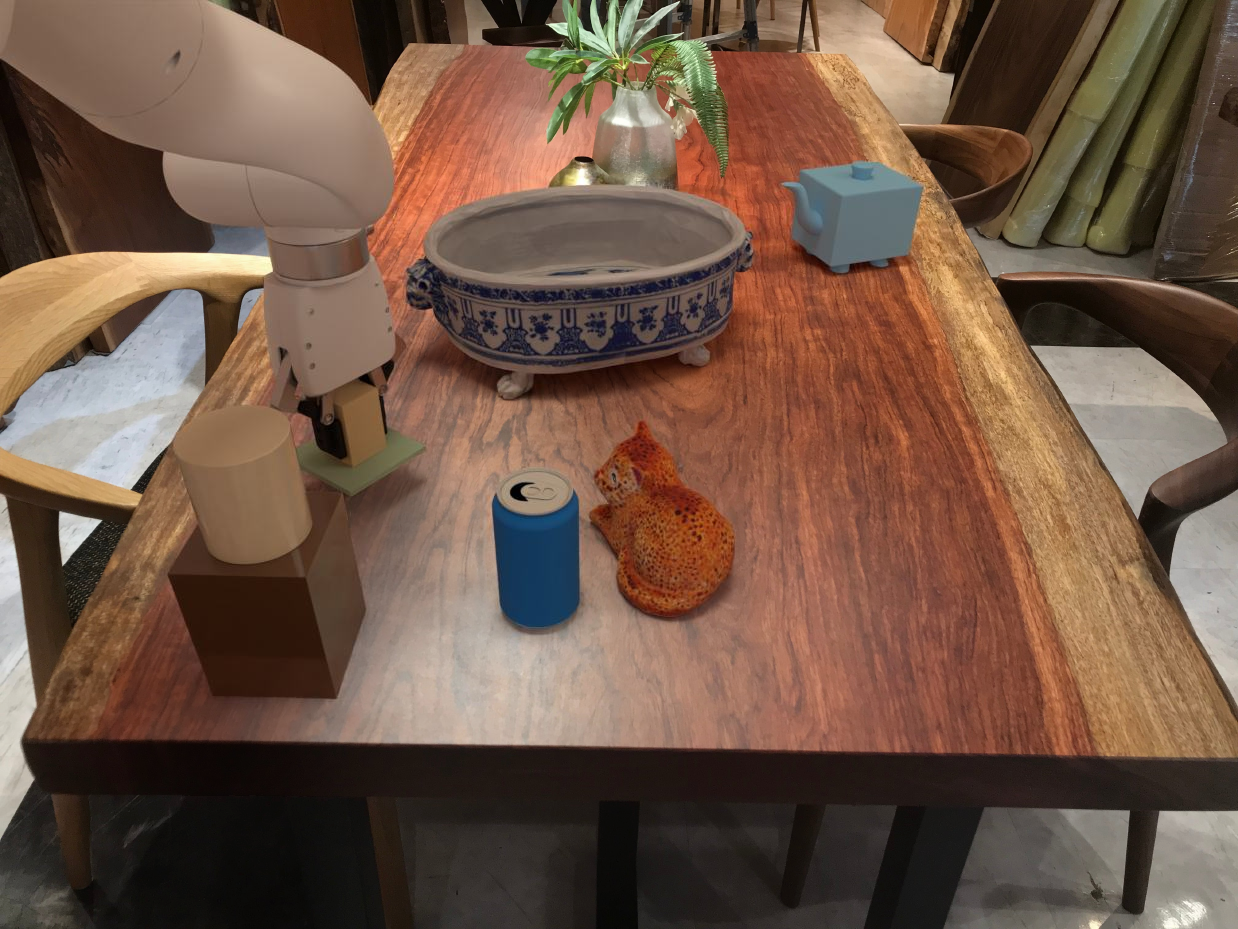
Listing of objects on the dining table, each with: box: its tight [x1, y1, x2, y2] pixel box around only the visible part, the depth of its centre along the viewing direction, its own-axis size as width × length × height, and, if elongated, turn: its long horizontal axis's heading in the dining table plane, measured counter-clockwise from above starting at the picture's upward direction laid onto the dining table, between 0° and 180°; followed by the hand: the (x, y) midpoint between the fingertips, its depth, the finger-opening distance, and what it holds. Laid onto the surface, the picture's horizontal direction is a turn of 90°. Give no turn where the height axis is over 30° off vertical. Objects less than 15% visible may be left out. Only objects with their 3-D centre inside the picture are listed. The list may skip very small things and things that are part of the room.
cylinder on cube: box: [166, 404, 367, 699], centre depth 62 cm, size 9×9×20 cm
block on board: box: [296, 379, 427, 497], centre depth 80 cm, size 9×9×7 cm
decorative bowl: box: [404, 184, 755, 400], centre depth 105 cm, size 42×27×15 cm, turn 110°
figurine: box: [588, 420, 736, 618], centre depth 75 cm, size 15×11×10 cm
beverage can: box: [491, 466, 581, 629], centre depth 69 cm, size 6×6×12 cm
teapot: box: [780, 160, 925, 274], centre depth 127 cm, size 22×11×14 cm, turn 111°
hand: (353, 440), depth 81 cm, fingers closed on block on board, 4 cm apart
